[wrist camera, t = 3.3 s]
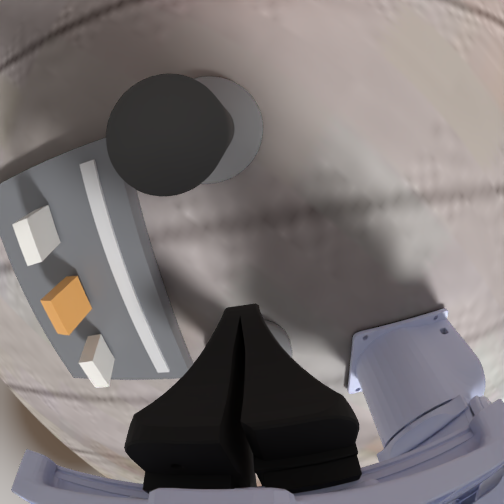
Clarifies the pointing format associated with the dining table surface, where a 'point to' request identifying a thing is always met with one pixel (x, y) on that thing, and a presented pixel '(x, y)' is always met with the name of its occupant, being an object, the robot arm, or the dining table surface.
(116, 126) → the rubber post
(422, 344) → the robot arm
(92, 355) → the block
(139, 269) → the breaker panel
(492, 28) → the dining table surface
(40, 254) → the block
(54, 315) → the block
